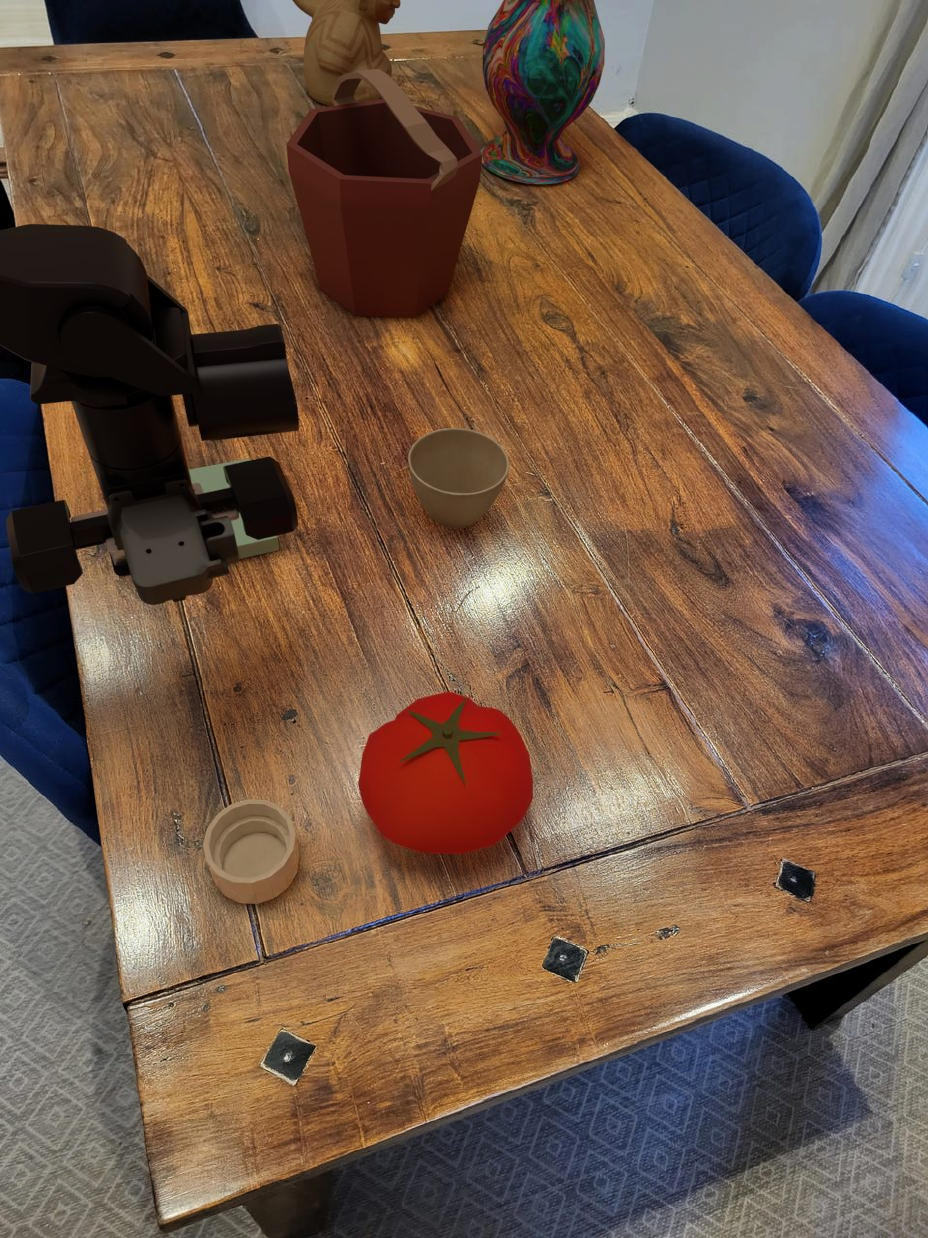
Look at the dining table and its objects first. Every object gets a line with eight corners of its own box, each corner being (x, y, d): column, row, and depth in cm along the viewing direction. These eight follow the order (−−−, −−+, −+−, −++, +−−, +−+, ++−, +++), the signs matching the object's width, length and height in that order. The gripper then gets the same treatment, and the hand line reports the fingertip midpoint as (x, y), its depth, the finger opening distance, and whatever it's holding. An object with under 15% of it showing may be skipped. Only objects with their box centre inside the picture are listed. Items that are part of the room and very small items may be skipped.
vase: (586, 145, 149) (624, -73, 126) (584, 196, 138) (626, -34, 114) (479, 132, 149) (498, -89, 126) (468, 181, 138) (486, -51, 114)
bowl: (223, 918, 64) (213, 895, 60) (205, 840, 67) (195, 814, 64) (309, 889, 65) (305, 865, 62) (287, 815, 69) (282, 788, 66)
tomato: (508, 731, 75) (523, 659, 67) (537, 868, 68) (559, 806, 60) (352, 746, 73) (349, 674, 65) (365, 889, 66) (363, 827, 58)
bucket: (486, 329, 113) (508, 122, 93) (315, 347, 108) (301, 132, 88) (436, 233, 127) (446, 36, 107) (283, 244, 122) (265, 40, 102)
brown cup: (516, 534, 90) (525, 482, 85) (425, 555, 87) (428, 503, 82) (480, 471, 96) (486, 418, 90) (393, 489, 93) (394, 436, 87)
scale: (135, 582, 82) (127, 557, 80) (117, 497, 89) (109, 471, 86) (279, 550, 86) (276, 525, 84) (251, 471, 93) (247, 445, 90)
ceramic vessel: (385, 123, 148) (386, -57, 129) (275, 103, 150) (259, -78, 131) (411, 86, 159) (416, -86, 139) (309, 68, 161) (299, -105, 141)
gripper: (-14, 565, 48) (66, 716, 61) (314, 491, 54) (326, 643, 66) (-29, 439, 54) (46, 599, 67) (266, 384, 60) (285, 541, 72)
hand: (178, 597), depth 68 cm, fingers closed
